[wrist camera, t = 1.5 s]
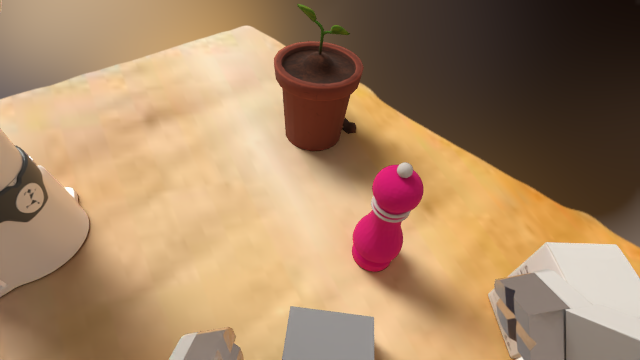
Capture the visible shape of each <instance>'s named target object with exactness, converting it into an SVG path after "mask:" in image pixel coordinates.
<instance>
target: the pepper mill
mask: <svg viewBox="0 0 640 360" xmlns="http://www.w3.org/2000/svg"><path fill="white" fill-rule="evenodd" d="M372 190H373V198H372V201H371V206H372V211H371V212H370V213H369V214H368V215H366V216H365V217H363V218H362V219H361V220H360V221H359V222H358V224H357V225H356V227H355V230H354V232H353V243H354V244H353V247H352V255H353V258H354V260H355V262H356V263H357V264H358V265H359V266H360V267H362V268H363V269H365V270H368V271H373V272H376V271H381V270H383V269H385V268H386V267H388V265H389V264H390V262H391V260H393V259H394V258H395V257H396V256H397V255H398V254H399V252H400V250H401V247H402V244H403V233H402V229H401V222H402V221H403V220H405V219H406V218H407V217H408V216H409V213H410V211H411V210H412V209H414V208H415V207H416V206H417V205H418V204H419V202H420V201H421V199H422V195H423V183H422V180H421V178H420V177H419V175H418V174H417V173H416V172H415V171H414V170H413V167H412V166H411V165H410V164H409V163H401V164H400V165H391V166H388V167H385V168H383V169H382V170H381V171H380V172H379V173H378V174H377V175H376V177H375V179H374V181H373V186H372Z"/></svg>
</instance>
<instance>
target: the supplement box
mask: <svg viewBox="0 0 640 360" xmlns="http://www.w3.org/2000/svg"><path fill="white" fill-rule="evenodd" d="M545 269H551V270H554V271H555V272H556V273H557V274H558V275H559V276H560V277H562V278H563V279H564V280H565V281H566V282H567V283H569V284H570V285H571V286H572V287H573V288H574V289H575V290H577V291H578V292H579V293H580V294H581V295H582V296H584V297H585V298H586V299H587V300H588V301H589V302H590V303H592V304H593V305H597V304H600V305H603V306H606V307H609V308H612V309H614V310H617V311H620V312H623V313H626V314H628V315H631V316H634V317H637V318H640V278H639V277H638V275H637V274H636V272H635V271H634V269H633V268H632V266H631V265H630V263H629V261H628V260H627V258H626V257H625V255H624V254H623V253H622V251H621V250H620V249H619V247H618V246H617V245H614V244H582V243H550V242H546V243H545V244H544V245H543V246H541V247H540V248H539V249H538V250H537V251H536V252H535V253H534V254H533V255H531V256H530V257H529V258H528V259H527V260H526V261H525V262H524V263H522V264H521V265H520V266H519V267H518V268H517V269H516V270H514V271H513V272H512V273H511V274H510V275H509V276H508V277H511V276H516V275H522V274H527V273H531V272H535V271H540V270H545ZM488 297H489V299H490V302H491V305H492V308H493V311H494V313H495V316H496V319H497V322H498V325H499V327H500V330H501V333H502V336H503V338H504V341H505V344H506V347H507V349H508V352H509V355H510V357H511V358H520V357H522V356H521V355H520V353H519V352H518V350H517V342H516V341H514V340H512V339H510V338H509V337H508V336H507V334H506V333H505V331H504V329H503V327H502V325H501V323H500V320H499V317H498V314H497V307H496V303H497V302H498V300H499V299H500V297H499V296H498V295H497V293H496V292H495V288H494V289H493V290H492V291H491V292H490V293H489V294H488Z"/></svg>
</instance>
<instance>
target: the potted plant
mask: <svg viewBox="0 0 640 360" xmlns="http://www.w3.org/2000/svg"><path fill="white" fill-rule="evenodd" d="M297 5H298V7H299V8H300V9H301V10H302V11H303V12H304V13H305V14H306V15H307V16H308V17H309V18H310V19H311V20H312V21H314V22H315V23H316V24H318V26H319V27H320V29H321V40H320V42H312V41H308V42H300V43H295V44H292V45H289V46H286V47H284V48H283V49H281V50H280V51H278V53H277V54H276V56H275V57H274V67H275V75H276V80H277V81H278V83H279V85H280V86H281V87H282V88H283V102H284V115H285V129H286V136H287V138H288V140H289V141H290V142H291V143H292V144H293V145H295V146H297V147H299V148H301V149H304V150H309V151H321V150H325V149H329V148H330V147H332V146H334V145H335V144H336V143H337V142H338V141H339V137H340V134H341V130H342V129H343V130H344V131H345V132H346V133H348V134H349V133H355V132H356V125H355V123H352V122H349V121H348V120H347V119H346V118H345V114H346V110H347V106H348V102H349V98H350V94H352V93H353V92H354V91H355V90H356V89H357V88H358V85H359V82H360V78H361V75H362V71H363V65H362V62H361V60H360V59H359V58H358V57H357V56H356V54H354V53H353V52H351V51H349V50H348V49H346V48H343V47H341V46H338V45H335V44H330V43H325V42H323V37H324V35H325V34H327V33H330V34H342V35H349V34H350V33H348V32H347V31H346V30H345V29H343V28H342V27H341V26H338V25H335V26H332V28H331V31H325V32H324V29H323V27H322V25H321V24H320V23H319V22H318V21H316V15H315V13H314V11H313V10H312V9H310V8H308V7H306V6H304V5H300V4H297ZM344 118H345V119H344ZM342 126H343V128H342Z"/></svg>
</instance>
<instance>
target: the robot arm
mask: <svg viewBox="0 0 640 360" xmlns="http://www.w3.org/2000/svg"><path fill="white" fill-rule="evenodd" d="M1 6H2V0H0V13H1ZM88 230H89V218H88V216H87V214H86V212H85V211H84V209H83V208H82V207H81V206H80V205H79V203H78V195H77V192H76V191H75V190H74V189H73V188H70V187H63V186H62V185H61V184H60V183H59V182H58V181H57V180H56V179H55V178H54V177H53V176H52V175H51V174H50V173H49V172H48V171H47V170H46V169H45V168H44V167H42V166H36V163H35V162H34V160H33V159H32V158H31V157H30V156H28V154H26V153H25V152H24V151H23V150H22V149H21V148H19V147H18V146H15V145H14V144H13V143H12V142H11V141H10V140H9V138H8V137H7V136H6V135H5V133H4V132H3V131H2V130H1V129H0V297H2V296H3V295H5V294H6V293H8V292H9V291H11V290H12V289H14V288H16V287H18V286H21V285H23V284H26V283H29V282H32V281H34V280H37V279H39V278H42V277H44V276H46V275H48V274H49V273H51V272H53V271H55V270H56V269H58V268H59V267H61V266H62V265H63V264H65V263H66V262H67V261H68V260H69V259H70V258H71V257H72V256H73V255H74V254H75V253H76V252H77V251H78V250H79V248H80V247H81V246H82V244H83V242H84V241H85V239H86V236H87V234H88ZM494 285H495V292H496V293H497V295H498V296H499V297H500V299H499V300H498V302H497V303H496V307H497V314H498V317H499V320H500V323H501V325H502V327H503V329H504V331H505V333H506V334H507V336H508V337H509V338H510V339H512V340H514V341H516V342H517V350H518V352H519V353H520V355H521V356H522V358H523V359H524V360H640V318H637V317H634V316H631V315H628V314H626V313H623V312H620V311H617V310H614V309H612V308H609V307H606V306H603V305H600V304H597V305H593V304H592V303H590V302H589V301H588V300H587V299H586V298H585V297H584V296H582V295H581V294H580V293H579V292H578V291H577V290H575V289H574V288H573V287H572V286H571V285H570V284H569V283H567V282H566V281H565V280H564V279H563V278H562V277H560V276H559V275H558V274H557V273H556V272H555V271H554V270H551V269H545V270H540V271H535V272H531V273H527V274H522V275H516V276H511V277H506V278H500V279H495V284H494ZM235 338H236V336H235V334H234V331H233V329H232V328H230V327H226V328H220V329H213V330H207V331H200V332H195V333H189V334H185V335H183V336H182V337H181V338H180V340H179V342H178V344H177V346H176V347H175V349H174V351H173V353H172V354H171V356H170V358H169V360H244V359H243V354H242V351H241V349H240V347H238V346H237V345H235V344H234V341H235Z"/></svg>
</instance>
